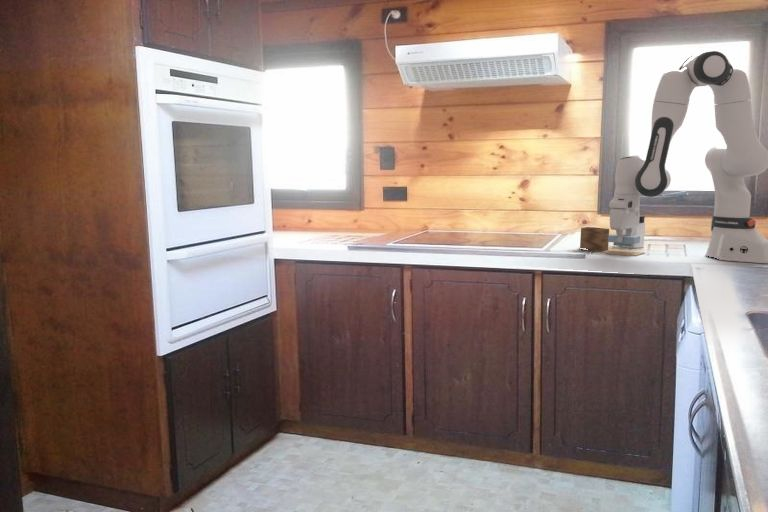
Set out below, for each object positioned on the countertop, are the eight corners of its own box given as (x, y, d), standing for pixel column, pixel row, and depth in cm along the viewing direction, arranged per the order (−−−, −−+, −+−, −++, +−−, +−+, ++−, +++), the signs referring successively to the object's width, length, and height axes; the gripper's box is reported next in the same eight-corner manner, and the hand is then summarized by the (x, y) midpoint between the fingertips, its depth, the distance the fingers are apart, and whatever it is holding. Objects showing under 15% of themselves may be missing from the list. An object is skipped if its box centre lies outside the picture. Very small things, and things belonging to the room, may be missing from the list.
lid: (639, 246, 251) (640, 236, 250) (633, 247, 246) (634, 237, 246) (613, 243, 257) (614, 233, 256) (607, 245, 252) (608, 235, 251)
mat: (644, 253, 252) (644, 252, 252) (636, 256, 245) (636, 255, 245) (611, 250, 259) (611, 249, 259) (602, 252, 252) (602, 251, 252)
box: (608, 250, 258) (609, 228, 257) (602, 252, 254) (604, 229, 253) (585, 248, 264) (586, 226, 262) (579, 249, 259) (580, 228, 258)
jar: (616, 246, 268) (618, 215, 266) (621, 244, 275) (623, 213, 273) (641, 248, 263) (643, 216, 262) (645, 246, 271) (647, 215, 269)
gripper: (628, 200, 259) (625, 237, 261) (607, 202, 243) (604, 242, 245) (645, 201, 255) (642, 239, 257) (625, 204, 239) (622, 244, 241)
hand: (623, 240), depth 251 cm, fingers closed on lid, 6 cm apart
